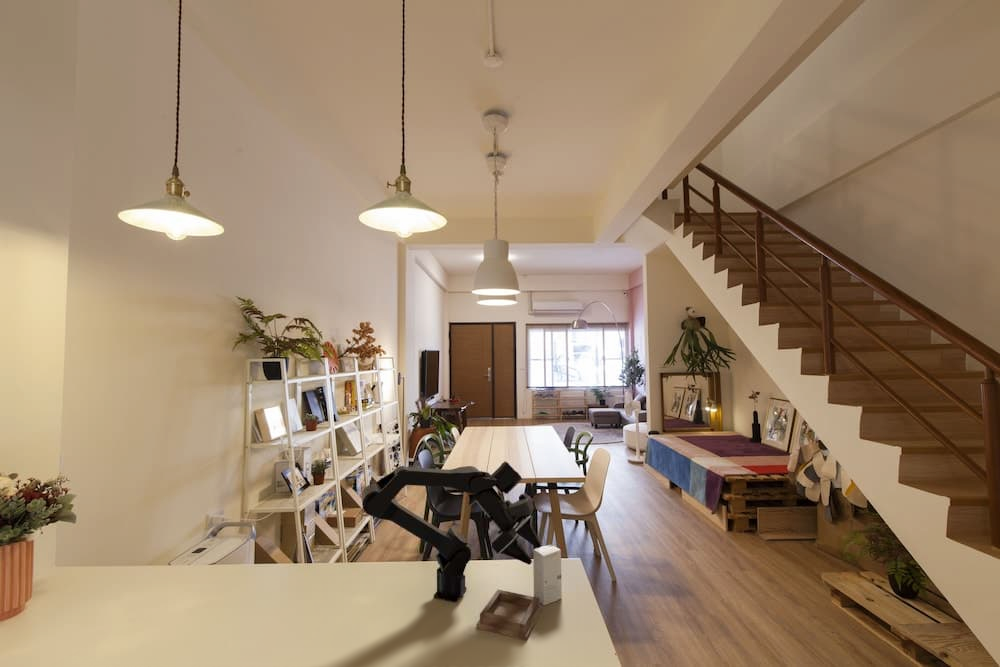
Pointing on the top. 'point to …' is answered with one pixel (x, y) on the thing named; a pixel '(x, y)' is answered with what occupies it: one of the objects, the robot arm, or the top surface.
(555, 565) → the skincare box
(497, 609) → the walnut holder
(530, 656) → the top surface
